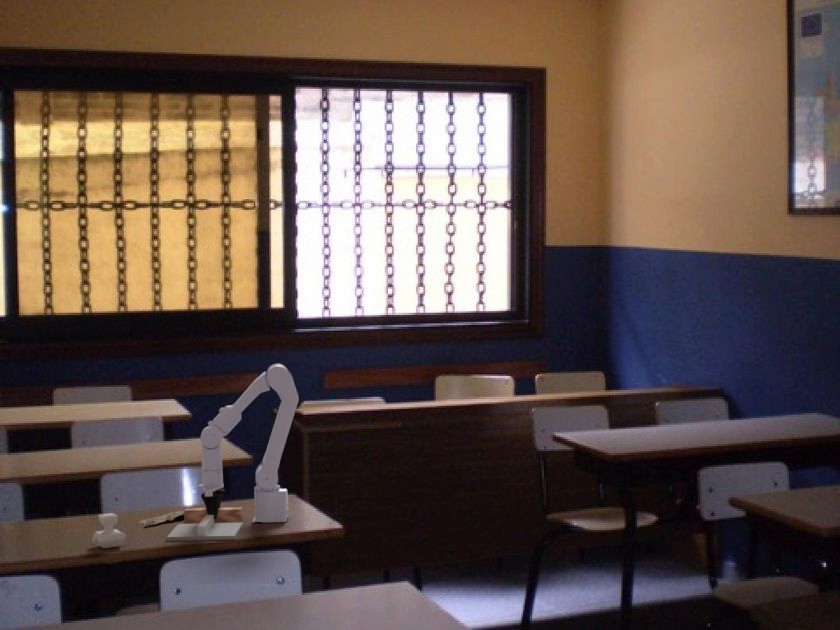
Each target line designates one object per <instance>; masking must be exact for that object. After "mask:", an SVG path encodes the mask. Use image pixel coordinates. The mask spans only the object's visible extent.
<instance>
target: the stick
mask: <svg viewBox="0 0 840 630" xmlns="http://www.w3.org/2000/svg"><path fill="white" fill-rule="evenodd" d="M206 515H208V514H207V510H206V507H193V508H191V507H190V508H189V507H188V508H185V509H184V515H183V519H184V523H200V522H201V521H202V520H203V519H204V517H205V516H206ZM242 521H243V522H244V509H243V507H241V506H238V507H234V506H233V507H231V506H230V507H220V508H218V513H217V518H216V519H214V523H240V522H242ZM184 523H183V524H184Z"/></svg>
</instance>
